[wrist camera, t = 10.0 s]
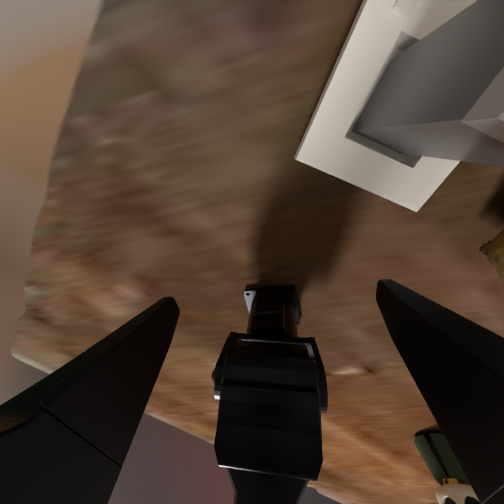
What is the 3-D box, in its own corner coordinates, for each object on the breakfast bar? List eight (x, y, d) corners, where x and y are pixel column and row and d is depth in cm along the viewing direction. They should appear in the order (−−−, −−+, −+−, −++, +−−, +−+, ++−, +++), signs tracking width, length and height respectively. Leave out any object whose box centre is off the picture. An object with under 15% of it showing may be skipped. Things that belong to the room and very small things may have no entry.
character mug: (456, 423, 35) (540, 557, 24) (470, 439, 37) (553, 569, 26) (393, 434, 40) (438, 551, 28) (408, 448, 42) (457, 562, 30)
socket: (402, 204, 19) (420, 214, 16) (293, 157, 18) (296, 160, 15) (524, 50, 13) (578, 31, 11) (376, -29, 12) (399, -69, 10)
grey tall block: (400, 155, 16) (633, 188, 6) (350, 131, 16) (497, 117, 5) (447, 87, 14) (999, -79, 3) (390, 57, 14) (804, -239, 3)
